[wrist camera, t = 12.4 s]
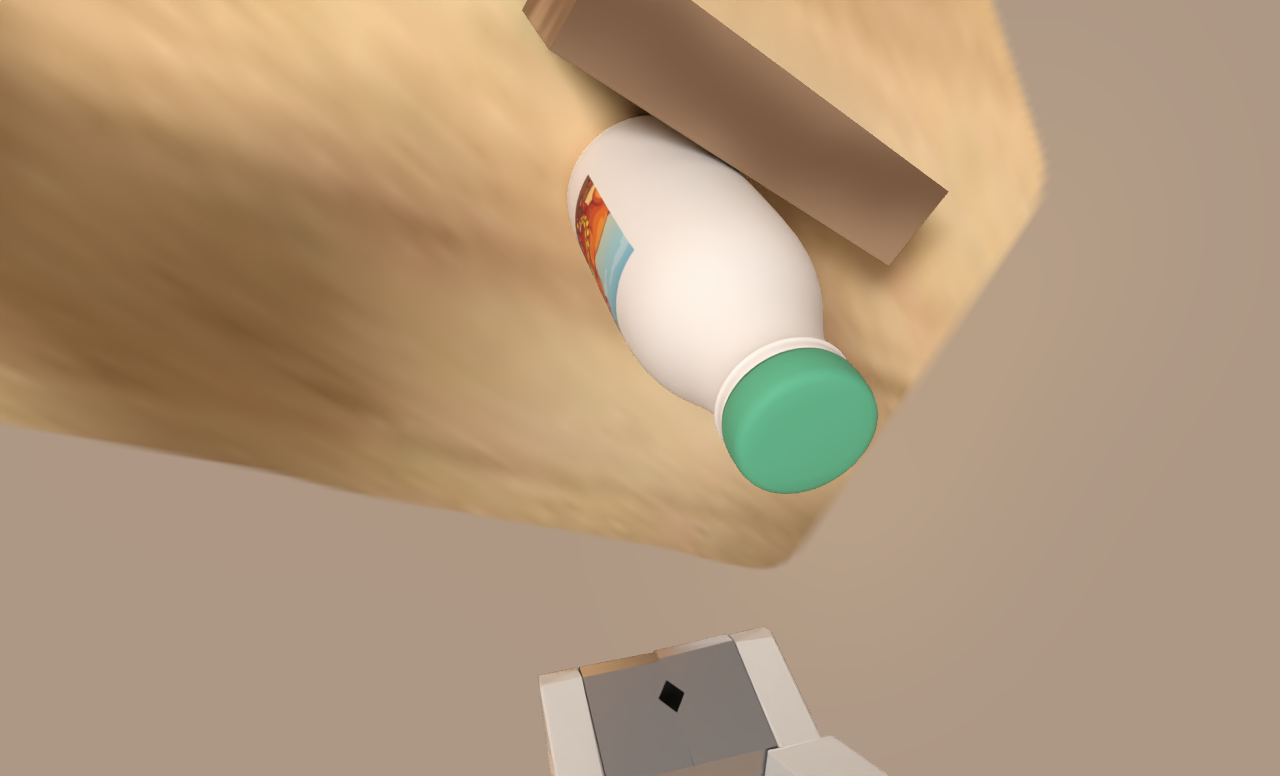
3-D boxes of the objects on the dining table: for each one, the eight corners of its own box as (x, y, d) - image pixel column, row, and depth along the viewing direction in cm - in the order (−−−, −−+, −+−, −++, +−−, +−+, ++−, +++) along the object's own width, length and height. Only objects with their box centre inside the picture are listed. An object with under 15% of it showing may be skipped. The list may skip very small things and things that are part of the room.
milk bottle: (594, 88, 37) (752, 300, 21) (743, 137, 40) (978, 353, 24) (543, 244, 41) (646, 524, 25) (683, 278, 44) (855, 547, 28)
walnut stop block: (823, 206, 44) (888, 265, 38) (522, 10, 35) (549, 49, 29) (873, 140, 42) (948, 191, 37) (572, -83, 33) (610, -60, 28)
